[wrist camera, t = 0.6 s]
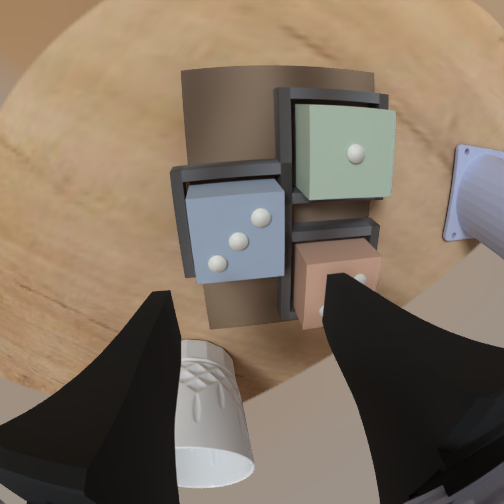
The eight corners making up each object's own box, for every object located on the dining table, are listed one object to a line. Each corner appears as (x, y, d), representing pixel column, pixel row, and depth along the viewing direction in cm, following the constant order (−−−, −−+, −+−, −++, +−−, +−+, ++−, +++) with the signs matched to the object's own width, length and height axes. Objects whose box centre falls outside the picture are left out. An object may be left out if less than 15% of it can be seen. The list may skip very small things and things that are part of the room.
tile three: (274, 178, 16) (285, 192, 14) (275, 253, 18) (285, 277, 16) (189, 185, 16) (184, 200, 13) (198, 260, 18) (197, 286, 15)
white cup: (222, 399, 27) (231, 491, 18) (142, 381, 25) (129, 478, 16) (254, 345, 24) (275, 454, 15) (159, 321, 22) (142, 436, 13)
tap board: (368, 74, 16) (388, 72, 14) (351, 303, 24) (363, 321, 21) (167, 74, 15) (160, 70, 13) (198, 321, 22) (198, 343, 20)
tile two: (363, 237, 18) (383, 258, 16) (355, 296, 21) (371, 320, 18) (295, 244, 18) (307, 266, 16) (293, 305, 20) (303, 332, 18)
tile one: (372, 108, 15) (397, 111, 12) (369, 183, 17) (392, 198, 14) (295, 104, 14) (310, 104, 12) (296, 186, 16) (310, 201, 14)
